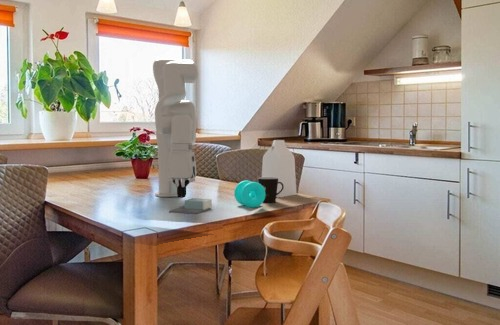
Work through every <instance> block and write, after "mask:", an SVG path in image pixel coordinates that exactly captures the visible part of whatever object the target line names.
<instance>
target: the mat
mask: <svg viewBox="0 0 500 325" xmlns="http://www.w3.org/2000/svg"><path fill="white" fill-rule="evenodd" d="M211 208H212V207H210V208H208V209H205V210H202V209H185V205H183V206H180V207H177V208H174V209H170V210H169V211H168V213H175V214H177V213H179V214H193V215H194V214H195V215H197V214H201V213H203V212H207V211H209V210H211Z"/></svg>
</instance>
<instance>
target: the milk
mask: <svg viewBox="0 0 500 325" xmlns="http://www.w3.org/2000/svg"><path fill="white" fill-rule="evenodd" d="M295 160H296V159H295V155H294V153H292V151H291V150H290V149H289V148H288V147H287V146H286V141H285V139H274V140H272V144H271V146H270V148H269V149H268V150H267V151H266V152H265V153H264V154H263V156H262V162H261V164H262V166H261V178H262V177H273V178H278V182H281V183H283V186H284V188H283V190H282V191H281V189H282V185H281V184H280V183H278V186H277V193H278V192H279V191H281V192H280V193H279V194H278V195H276V198H279V197H281V198H284V196H285V197H291V196H296V195H297V178H296V162H295Z"/></svg>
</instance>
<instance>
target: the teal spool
mask: <svg viewBox="0 0 500 325" xmlns="http://www.w3.org/2000/svg"><path fill="white" fill-rule="evenodd" d="M233 193H234V194H233V196H234V199H235V200H236V203H238V204H240V205H242V206H246V207H248V208H251V209H254V208H258V207H260V206H261V205H262V204H263V201H264V199H265V190H264V188H263V186H262V185H261V184H259V183H258V181H257V182H256V181H251V180H247V179H246V180H242V181H240V182H239V183H237V184H236V186H235V188H234V191H233Z"/></svg>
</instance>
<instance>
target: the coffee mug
mask: <svg viewBox="0 0 500 325" xmlns="http://www.w3.org/2000/svg"><path fill="white" fill-rule="evenodd" d="M257 179H258V181H257V183H259V184H261V185H262V186H263V188H264V190H265V199H264V201H263V203H264V204H266V203H267V204H271V203H276V201H277V197H276V195H278V194H279V193H280V192H281V191H282V190H283V188H284V186H283V183H281V182H278V178H273V177H262V176H261V177H257ZM278 183H280V184H281V185H282V189H281V191H279V192H278V193H277V186H278ZM263 203H262V204H263Z"/></svg>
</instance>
